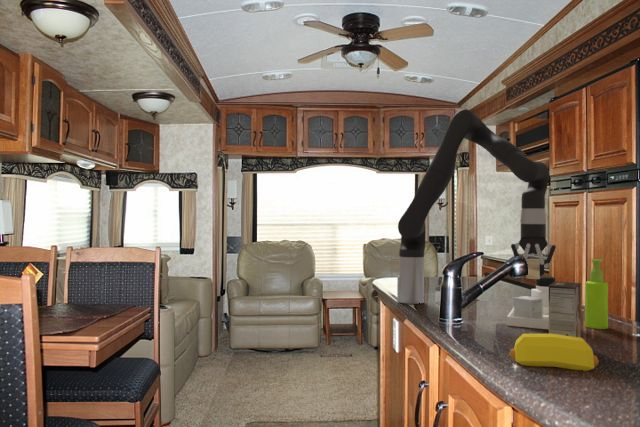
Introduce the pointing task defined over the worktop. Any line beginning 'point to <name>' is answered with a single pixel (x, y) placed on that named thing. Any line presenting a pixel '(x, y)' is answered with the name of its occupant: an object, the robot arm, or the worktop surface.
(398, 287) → the robot arm
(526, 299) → the product box
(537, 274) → the beech block
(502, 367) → the worktop surface
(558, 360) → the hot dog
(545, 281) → the medicine bottle
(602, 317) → the soap dispenser
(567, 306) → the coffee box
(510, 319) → the tray
